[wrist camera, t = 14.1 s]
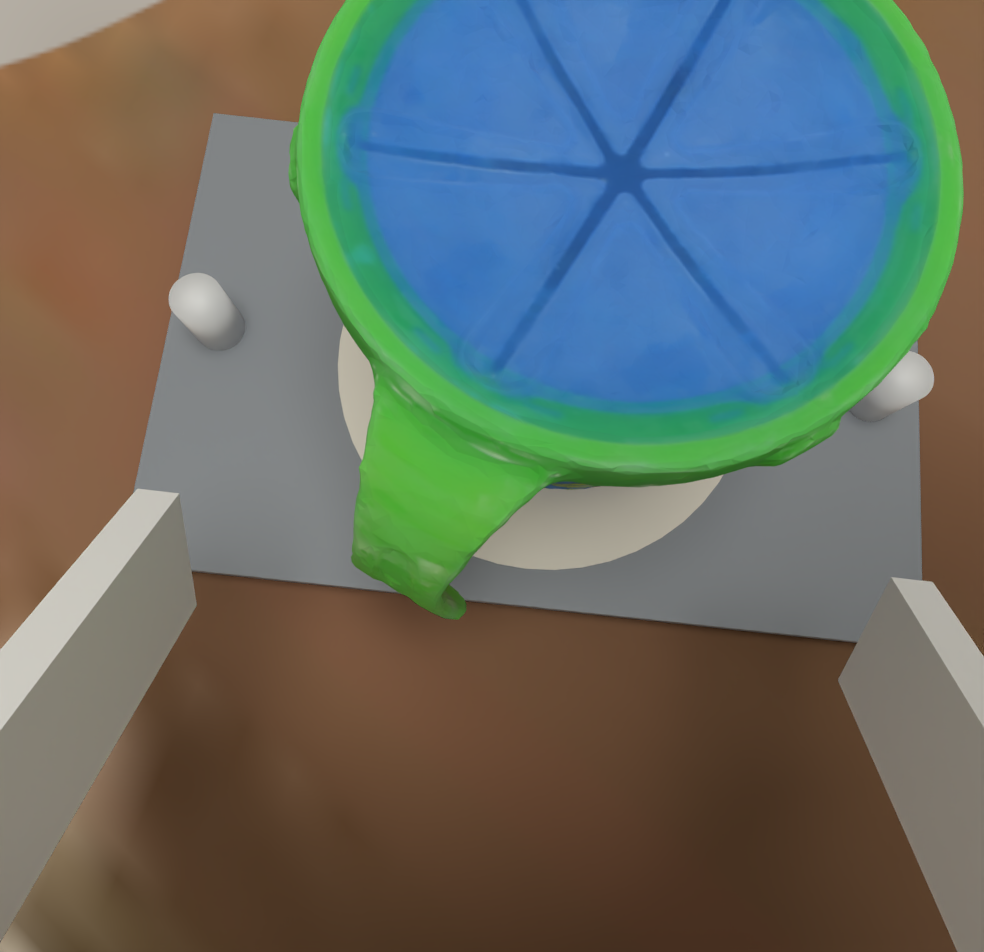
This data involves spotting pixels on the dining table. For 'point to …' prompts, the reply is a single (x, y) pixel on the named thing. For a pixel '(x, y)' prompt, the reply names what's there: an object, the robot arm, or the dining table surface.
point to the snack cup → (613, 244)
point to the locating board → (539, 523)
